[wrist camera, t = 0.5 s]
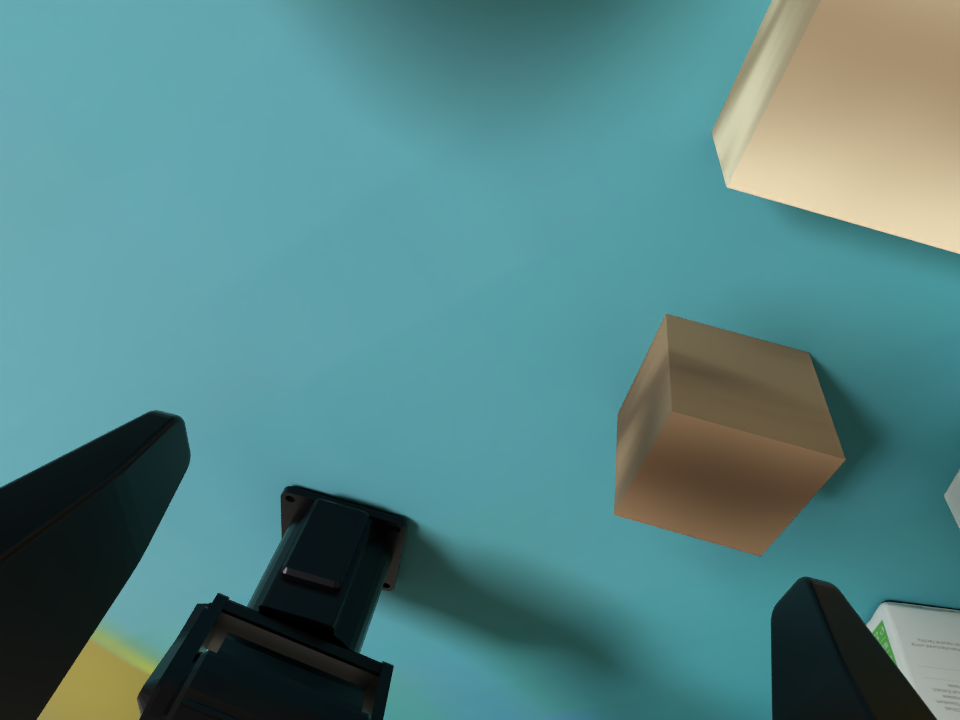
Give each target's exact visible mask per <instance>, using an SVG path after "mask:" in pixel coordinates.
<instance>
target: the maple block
mask: <svg viewBox="0 0 960 720" xmlns="http://www.w3.org/2000/svg"><path fill="white" fill-rule="evenodd" d="M712 135H713V139H714V143H715V146H716V150H717V154H718V157H719V161H720V164H721V168H722V172H723V175H724V179H725V183H726V186H727V187H728V188H731V189H735V190H738V191H742V192H745V193H749V194H752V195H756V196H759V197H763V198H766V199H770V200H773V201H777V202H780V203H784V204H787V205H791V206H794V207H798V208H801V209H805V210H808V211H812V212H815V213H819V214H822V215H826V216H829V217H833V218H836V219H840V220H843V221H847V222H850V223H854V224H857V225H861V226H864V227H868V228H871V229H875V230H878V231H882V232H885V233H889V234H892V235H896V236H899V237H902V238H906V239H909V240H913V241H916V242H920V243H923V244H927V245H930V246H934V247H937V248H941V249H944V250H948V251H951V252H955V253H958V254H960V0H772V2H771V4H770V6H769V8H768V10H767V12H766V15H765V17H764V19H763V21H762V23H761V26H760V28H759V30H758V32H757V34H756V36H755V39H754V41H753V43H752V45H751V47H750V50H749V52H748V54H747V56H746V58H745V60H744V63H743V65H742V67H741V69H740V71H739V74H738V76H737V78H736V80H735V82H734V84H733V87H732V89H731V91H730V93H729V95H728V98H727V100H726V102H725V104H724V106H723V108H722V111H721V113H720V115H719V117H718V119H717V122H716V124H715V126H714V128H713V130H712Z"/></svg>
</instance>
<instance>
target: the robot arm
mask: <svg viewBox="0 0 960 720" xmlns="http://www.w3.org/2000/svg"><path fill="white" fill-rule="evenodd" d="M189 462H190V448H189V443H188V437H187V432H186V427H185V423H184V420H183V419H182V418H181V417H180V416H178V415H174V414H171V413H167V412H163V411H157V410H155V411H150V412H147V413H145V414H143V415H141V416H139V417H137V418H136V419H134V420H132V421H130V422H128V423H126V424H124V425H122V426H120V427H118V428H116V429H114V430H112V431H110V432H108V433H106V434H104V435H102V436H100V437H98V438H96V439H94V440H92V441H91V442H89V443H87V444H85V445H83V446H81V447H79V448H77V449H75V450H73V451H71V452H69V453H67V454H65V455H63V456H61V457H59V458H57V459H55V460H53V461H51V462H49V463H47V464H46V465H44V466H42V467H40V468H38V469H36V470H34V471H32V472H30V473H28V474H26V475H24V476H22V477H20V478H18V479H16V480H14V481H12V482H10V483H8V484H6V485H4V486H2V487H1V488H0V720H37V718H38V717H39V715H40V713H41V712H42V710H43V709H44V707H45V706H46V704H47V703H48V701H49V700H50V698H51V697H52V695H53V694H54V692H55V691H56V689H57V687H58V686H59V685H60V683H61V681H62V680H63V678H64V677H65V675H66V674H67V672H68V671H69V669H70V668H71V666H72V665H73V663H74V662H75V660H76V658H77V657H78V655H79V654H80V652H81V651H82V649H83V648H84V646H85V645H86V643H87V642H88V640H89V639H90V637H91V636H92V634H93V633H94V631H95V630H96V628H97V627H98V625H99V623H100V622H101V620H102V619H103V617H104V616H105V614H106V613H107V611H108V610H109V608H110V607H111V605H112V604H113V602H114V601H115V599H116V598H117V596H118V594H119V593H120V591H121V590H122V588H123V587H124V585H125V584H126V582H127V581H128V579H129V578H130V576H131V575H132V573H133V571H134V570H135V568H136V566H137V565H138V563H139V562H140V560H141V558H142V556H143V554H144V552H145V551H146V549H147V547H148V545H149V543H150V541H151V539H152V537H153V535H154V533H155V531H156V529H157V527H158V526H159V524H160V522H161V520H162V518H163V516H164V514H165V512H166V510H167V508H168V506H169V504H170V502H171V500H172V498H173V496H174V494H175V492H176V490H177V488H178V486H179V484H180V482H181V480H182V479H183V477H184V475H185V473H186V471H187V468H188V466H189ZM281 525H282V540H281V542H280V544H279V546H278V548H277V549H276V551H275V553H274V555H273V557H272V559H271V561H270V563H269V565H268V567H267V569H266V571H265V573H264V575H263V576H262V578H261V580H260V582H259V584H258V586H257V588H256V590H255V592H254V594H253V596H252V598H251V600H250V601H249V603H248V605H247V607H246V606H244V605H241V604H239V603H236V602H234V601H232V600H229V597H228V596H225V595H223V594H220V593H218V594H217V596H216V597H215V599H214V601H213V602H212V603H209V604H197V605H196V607H195V608H194V610H193V612H192V614H191V615H190V617H189V619H188V620H187V622H186V624H185V626H184V627H183V629H182V631H181V632H180V634H179V635H178V637H177V639H176V640H175V642H174V643H173V645H172V646H171V647H170V649H169V650H168V652H167V653H166V654H165V656H164V657H163V659H162V660H161V662H160V663H159V664H158V666H157V667H156V669H155V670H154V672H153V673H152V674H151V676H150V677H149V679H148V680H147V682H146V683H145V685H144V686H143V688H142V690H141V691H140V693H139V695H138V697H137V701H138V705H139V710H140V713H141V717H140V719H139V720H383V717H384V712H385V707H386V702H387V697H388V692H389V687H390V682H391V677H392V672H393V667H394V666H393V665H391V664H389V663H386V662H384V661H382V663H381V662H378V661H376V660H374V659H371V658H369V657H366V656H364V655H362V654H359V653H360V651H361V648H362V645H363V642H364V639H365V636H366V633H367V630H368V628H369V625H370V622H371V619H372V616H373V613H374V610H375V607H376V605H377V602H378V599H379V596H380V593H381V590H382V589H383V590H387V591H390V590H393V589H394V587H395V584H396V581H397V576H398V571H399V566H400V561H401V556H402V551H403V546H404V541H405V536H406V531H407V526H408V525H407V522H406V520H404V519H403V518H401V517H398V516H394V515H391V514H387V513H384V512H380V511H377V510H373V509H370V508H366V507H363V506H359V505H356V504H352V503H349V502H345V501H342V500H338V499H335V498H331V497H328V496H324V495H321V494H317V493H314V492H310V491H306V490H303V489H299V488H296V487H292V486H288V487H286V488H285V489H284V490H283V492H282V494H281ZM207 649H208V651H206V650H207ZM771 667H772V720H937V718H936V717H935V716H934V714H933V713H932V712H931V710H930V709H929V708H928V706H927V705H926V704H925V702H924V701H923V700H922V698H921V697H920V696H919V694H918V693H917V692H916V691H915V689H914V688H913V687H912V685H911V684H910V683H909V681H908V680H907V679H906V677H905V676H904V675H903V673H902V672H901V671H900V669H899V668H898V667H897V665H896V664H895V663H894V661H893V660H892V659H891V658H890V656H889V655H888V654H887V652H886V651H885V650H884V648H883V647H882V646H881V644H880V643H879V642H878V640H877V639H876V638H875V636H874V635H873V634H872V632H871V631H870V630H869V628H868V627H867V626H866V625H865V623H864V622H863V621H862V619H861V618H860V617H859V615H858V614H857V613H856V611H855V610H854V609H853V607H852V606H851V605H850V603H849V602H848V601H847V599H846V598H845V597H844V595H843V594H842V593H841V592H840V590H839V589H838V588H837V587H836V586H835V585H833V584H831V583H829V582H826V581H822V580H818V579H814V578H810V577H802V578H799V579H798V580H797V581H796V582H795V583H794V584H793V586H792V587H791V588H790V589H789V590H788V591H787V592H786V594H785V595H784V596H783V597H782V598H781V599H780V600H779V601H778V603H777V604H776V605H775V607H774V609H773V612H772V617H771Z"/></svg>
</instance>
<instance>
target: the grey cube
mask: <svg viewBox="0 0 960 720" xmlns="http://www.w3.org/2000/svg"><path fill="white" fill-rule="evenodd" d="M944 498H945V500H946V502H947V504H948V506H949V508H950V510H951V512H952V514H953V516H954V518H955V520H956V522H957V524H958V527H959V529H960V469H959V471H958V473H957V474H956V476H955V478H954V479H953V481H952V483H951V484H950V486H949V488H948V490H947V491H946V493H945V495H944Z"/></svg>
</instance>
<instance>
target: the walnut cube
mask: <svg viewBox="0 0 960 720" xmlns="http://www.w3.org/2000/svg"><path fill="white" fill-rule="evenodd" d="M845 460H846V458H845V456H844V453H843V450H842V447H841V444H840V441H839V438H838V435H837V432H836V429H835V426H834V424H833V421H832V418H831V415H830V412H829V409H828V406H827V403H826V400H825V397H824V394H823V392H822V389H821V386H820V383H819V380H818V377H817V374H816V371H815V368H814V365H813V362H812V360H811V357H810V354H809V353H808V352H804V351H801V350H797V349H793V348H790V347H786V346H782V345H779V344H775V343H771V342H768V341H764V340H760V339H757V338H753V337H749V336H746V335H742V334H738V333H735V332H731V331H727V330H724V329H720V328H716V327H713V326H709V325H705V324H702V323H698V322H694V321H691V320H687V319H683V318H680V317H676V316H672V315H669V314H666V315H665V317H664V319H663V321H662V323H661V325H660V327H659V330H658V332H657V334H656V336H655V338H654V340H653V342H652V344H651V346H650V348H649V350H648V352H647V355H646V357H645V359H644V361H643V363H642V365H641V367H640V369H639V371H638V373H637V375H636V377H635V379H634V382H633V384H632V386H631V388H630V390H629V392H628V394H627V396H626V398H625V400H624V402H623V404H622V407H621V409H620V411H619V413H618V422H617V450H616V477H615V504H614V515H617V516H620V517H624V518H627V519H631V520H634V521H638V522H641V523H645V524H648V525H652V526H656V527H659V528H663V529H666V530H670V531H673V532H677V533H680V534H684V535H687V536H691V537H694V538H698V539H701V540H705V541H708V542H712V543H715V544H719V545H722V546H726V547H729V548H733V549H737V550H740V551H744V552H747V553H751V554H754V555H758V556H761V555H762V554H763V553H764V552H765V551H766V550H767V549H768V547H769V546H770V545H771V544H772V543H773V542H774V541H775V539H776V538H777V537H778V536H779V535H780V534H781V533H782V532H783V530H784V529H785V528H786V527H787V526H788V525H789V524H790V522H791V521H792V520H793V519H794V518H795V517H796V516H797V515H798V513H799V512H800V511H801V510H802V509H803V508H804V507H805V505H806V504H807V503H808V502H809V501H810V500H811V499H812V498H813V496H814V495H815V494H816V493H817V492H818V491H819V490H820V488H821V487H822V486H823V485H824V484H825V483H826V482H827V481H828V479H829V478H830V477H831V476H832V475H833V474H834V473H835V471H836V470H837V469H838V468H839V467H840V466H841V465H842V464H843V462H844V461H845Z"/></svg>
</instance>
